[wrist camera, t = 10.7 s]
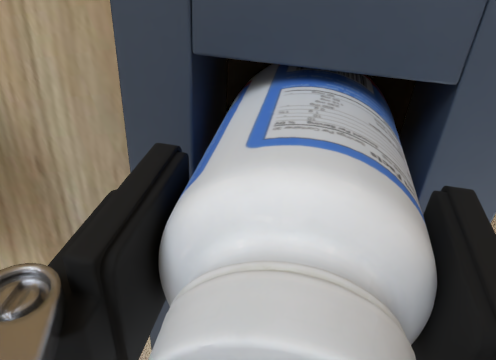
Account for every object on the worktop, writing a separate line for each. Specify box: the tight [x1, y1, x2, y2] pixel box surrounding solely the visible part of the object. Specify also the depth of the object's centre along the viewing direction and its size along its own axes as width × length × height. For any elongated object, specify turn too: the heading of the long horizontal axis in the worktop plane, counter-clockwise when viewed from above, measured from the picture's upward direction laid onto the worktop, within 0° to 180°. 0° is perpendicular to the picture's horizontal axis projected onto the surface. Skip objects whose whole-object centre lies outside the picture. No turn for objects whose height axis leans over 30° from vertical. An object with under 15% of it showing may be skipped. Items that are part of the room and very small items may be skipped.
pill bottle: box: [148, 64, 437, 360], centre depth 10 cm, size 6×5×10 cm
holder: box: [110, 0, 496, 349], centre depth 15 cm, size 10×18×4 cm, turn 176°
